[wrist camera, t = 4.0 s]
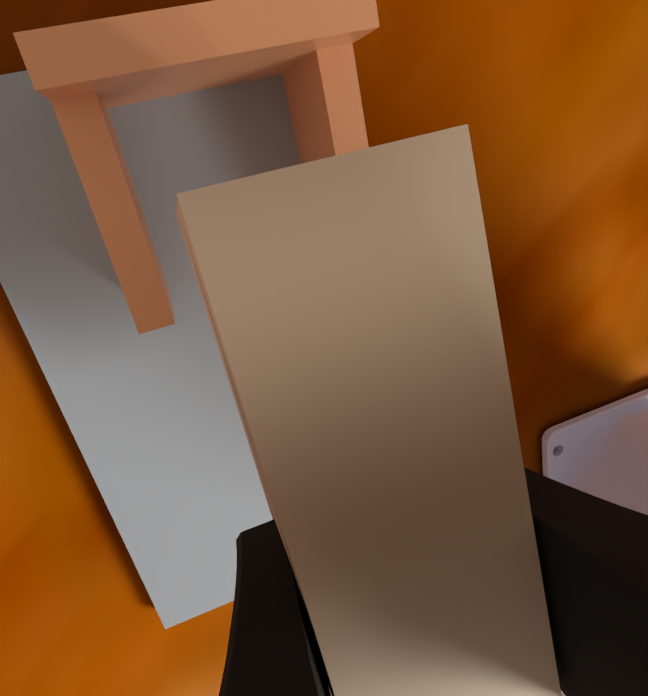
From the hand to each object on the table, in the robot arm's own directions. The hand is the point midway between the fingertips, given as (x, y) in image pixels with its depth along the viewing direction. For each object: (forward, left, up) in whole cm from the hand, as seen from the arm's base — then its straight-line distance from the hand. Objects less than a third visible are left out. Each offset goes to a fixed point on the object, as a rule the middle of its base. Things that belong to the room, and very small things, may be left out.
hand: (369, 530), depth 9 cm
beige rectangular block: (+2, 0, -2) cm, 2 cm away
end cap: (+6, 0, -8) cm, 10 cm away
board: (+1, +1, -8) cm, 8 cm away
